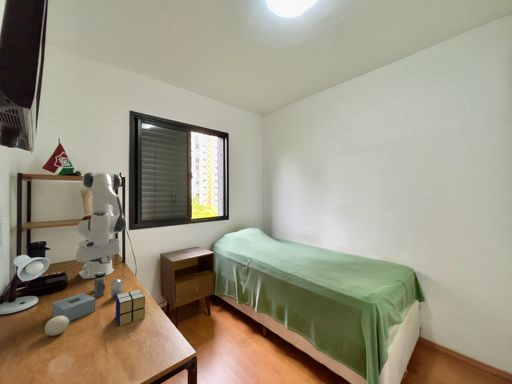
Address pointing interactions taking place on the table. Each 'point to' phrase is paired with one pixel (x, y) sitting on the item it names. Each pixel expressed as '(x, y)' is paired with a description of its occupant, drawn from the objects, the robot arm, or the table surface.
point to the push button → (100, 276)
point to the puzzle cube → (130, 307)
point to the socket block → (74, 306)
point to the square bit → (99, 287)
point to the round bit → (116, 288)
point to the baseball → (56, 325)
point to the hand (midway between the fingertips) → (99, 265)
